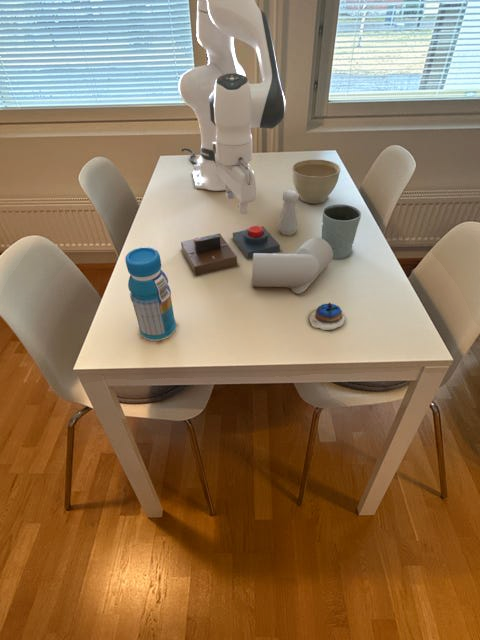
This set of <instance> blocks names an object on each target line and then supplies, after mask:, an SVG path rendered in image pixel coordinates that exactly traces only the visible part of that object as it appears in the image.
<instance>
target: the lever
mask: <svg viewBox="0 0 480 640" xmlns="http://www.w3.org/2000/svg"><path fill="white" fill-rule="evenodd" d="M218 234H219V233H214V234H210V235H206V237H205V236H201V237H195V238H193V239H194V245H195V251H196V252H197V253H199V252H204V251H208V250H213V249H217V248H221V245H220V236H219V235H218Z"/></svg>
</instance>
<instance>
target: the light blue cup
mask: <svg viewBox="0 0 480 640" xmlns="http://www.w3.org/2000/svg"><path fill="white" fill-rule="evenodd" d="M321 217H322V220H321V221H322V225H321V235H320V238H321V239H323V240H325V241H326V242H328V244H329V245H330V246H331V248H332V251H333V258H332V259H335V260H339V259H345V258H347V257H349V256H350V255H351V253H352V250H353V244H354V242H355V238H356V234H357V231H358V227H359V224H360V220H361V217H362V212H361V210H360V209H358V208H357V207H355V206H353V205H349V204H343V203H338V204H337V203H336V204H331V205H328V206H325V207H324V208H323V210H322V216H321Z"/></svg>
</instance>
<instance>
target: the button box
mask: <svg viewBox="0 0 480 640" xmlns="http://www.w3.org/2000/svg"><path fill="white" fill-rule="evenodd" d="M261 227H262V228H263V235H262V236H261V237H251V236H249V228H247V229H244V230H240V231H239V230H238V231H235V232H232V240H233V241H234V243H235V244H236V245H237V247H238V248H239V250H240V251H241V252H242V253H243V254H244V256H245V257H246V259H247V260H250V259H253V254H254V253H272V254H276V253H279V252H280V251H281V244H280V243H279V242H278V241H277V240H276V239H275V238H274V237H273V236H272V234H271V233H270V232H269V231H268V230H267V229H266V227H264V226H261Z"/></svg>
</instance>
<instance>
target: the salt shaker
mask: <svg viewBox="0 0 480 640" xmlns="http://www.w3.org/2000/svg"><path fill="white" fill-rule="evenodd" d="M281 198H282V200H283V205H282V209H281V213H280V217H279V221H278V229H279V232H280V234H282V235H283V236H292V235H294V234H295V233H296V231H297V229H298V225H299V224H298V216H297V209H296V201H297V200H298V192H297V191H296V190H292V189H291V190H290V189H287V190H285V191H283V193H282V197H281Z"/></svg>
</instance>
